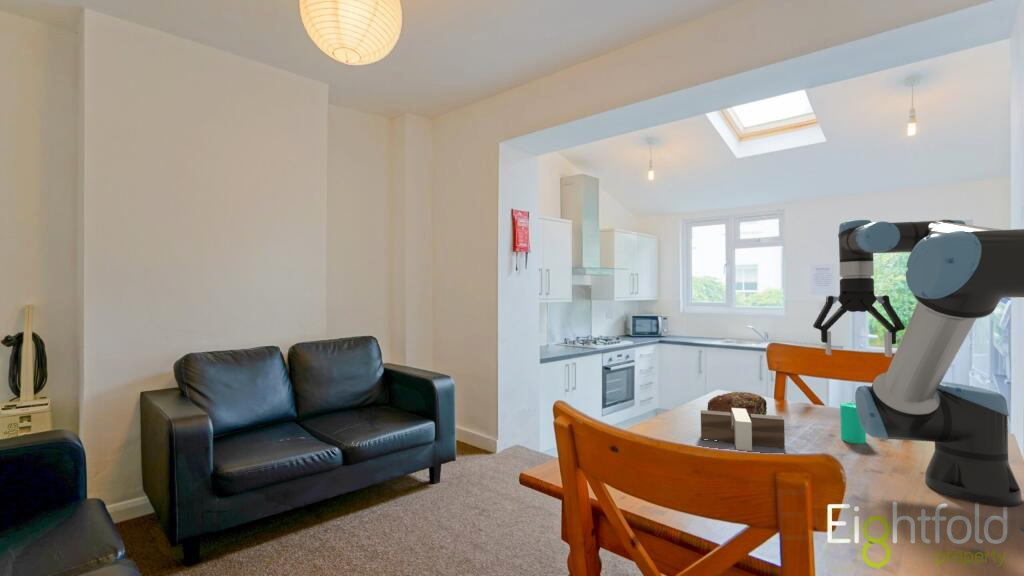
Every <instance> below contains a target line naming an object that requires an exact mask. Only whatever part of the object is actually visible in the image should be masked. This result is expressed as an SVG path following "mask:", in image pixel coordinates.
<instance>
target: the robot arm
mask: <svg viewBox="0 0 1024 576" xmlns="http://www.w3.org/2000/svg"><path fill="white" fill-rule="evenodd" d="M838 227H839V229H838V235H837V237H838V251H839V253H838V256H839V259H838V260H839V277H840V279H839V295H838V296H836V295H835V296H834V295H827V296H826V299H825V303H824V305H823V308H822V309H821V311H820V312H819V314H818V316H817V317H816V319H815V322H814V323H813V324H812V327H813V328H814V329H817V330H818V331H819V330H820V340H821V342H822V343H823V344H824V343H825V355H827V356H832V331H830V330H829V329H830V328H831V327H833V326H834V324H836V322H837V321H838V320H839V319H840V318H842V316H843V315H844V314H845V313H847V312H849V313H850V312H851V313H856V312H860V313H866V312H867V313H869V315H870V314H871V316H872V317H873V318H874V319H876V320H877V322H879V324H880V325H882V327H884V328H885V329H886V330H887V331H884V332H883V333H884V336H883V337H884V338H883V339H884V357H887V358H892V360H891V362H890V364H889V367H888V369H887V371H886V372H882V373H881V374H879V375H877V376H876V377H875V378H874V380H873V382H872V385H870V386H867V385H861V386H858V387H857V388H856V390H855V396H854V401H855V402H854V403H856V410H857V414H858V418H859V421H860V423H861V426H862V428H863V429H864V431H865V432H866V435H868V436H870V437H872V438H876V439H885V440H897V441H899V440H900V441H913V442H914V441H915V442H931V443H934V452H933V454H932V456H931V458H930V461H929V463H928V466H927V468H926V470H925V473H924V474H925V475H924V477H925V478H924V480H925V484H926V486H928V487H929V488H931V489H932V490H934V491H936V492H939V493H940V494H943V495H946V496H949V497H952V498H954V499H958V500H961V501H962V500H963V501H966V502H971V503H976V504H981V505H986V506H987V505H988V506H995V507H996V506H997V507H1013V506H1014V507H1015V506H1018V505H1021V503H1022V490H1021V488H1020V485H1019V483H1018V482H1017V481H1018V480H1017V479H1016V477H1015V474H1014V472H1013V470H1012V468H1011V465H1010V463H1009V430H1008V429H1009V428H1008V427H1009V425H1008V424H1009V423H1008V422H1009V416H1010V414H1009V410H1008V404H1007V399H1006V397H1005V396H1004V395H1003V394H1001V393H1000V392H996V391H994V390H991V389H986V388H982V387H977V386H972V385H969V384H968V385H967V384H961V383H955V382H954V383H953V382H948V381H943V379H944V377H945V375H947V372H948V370H949V369H950V367H951V366H952V363H953V362H954V359H955V358H956V356H957V354H958V353H959V351H960V349H961V348H962V346H963V344H964V342H965V340H966V338H967V336H968V334H969V332H970V331H971V329H972V328H973V326H974V323H975V322H976V320H977V319H981V318H982V319H983V318H986V317H988V316H990V315H991V314H993V313H994V311H995V310H996V308H997V306H998V304H999V303H1000V302H1001V300H1003V299H1005V298H1024V228H1022V229H1017V228H1015V229H1000V228H991V227H988V226H987V227H985V226H977V225H971V224H966V223H965V221H963V220H961V219H941V220H940V219H939V220H924V221H923V220H922V221H902V222H901V221H898V222H895V221H894V222H889V221H881V220H880V221H873V222H872V221H871V220H870V219H853V220H847V221H843V222H841V223H839V226H838ZM892 253H893V254H894V253H909V256H908V258H907V262H906V266H905V267H906V268H907V271H905V280H906V284H907V287H908V289H909V291H910V292H911V293H912V296H913V297H914V299H915V300H916V302H917V304H916V305H915V308H914V310H913V313H912V315H911V317H910V320H909V321H908V324H907V326H906V327H905V325H904V323H903V322H902V319H901V318H900V317H899V315H898V314H897V312H896V310H895V309H894V308H893V305H892V304H891V302H890V296H889V295H887V294H881V295H877V296H876V295H875V284H874V283H875V279H874V278H872V277H873V276H875V272H874V271H875V269H874V254H892ZM841 277H842V278H841ZM876 301H877V302H878V304H879V305H880V304H881V306H882V307H883V309H884V311H885V313H886V314H887V316H888V318H889V319H890V321H891V322H892V323H891V322H890V321H889V320H888V319H886V317H885V316H883V315H882V314H881V313H880V312H879V311H878V309H877V308H876V307H875V306H874V304H875V303H876ZM836 302H839V304H840V305H841V306H840V307H839V308H837V310H836V311H835V312H834V313H833V314H832V316H830V317H829V318H828V319H827V320H826V321H825V319H826V318H827V316H828V315H829V312H830V311H831V309H832V308H833V305H834V304H836ZM824 321H825V322H824ZM904 330H905V331H904ZM899 331H904V333H903V336H902V338H901V340H900V342H899V343H898V346H897V349H896V351H895V354H894V356H893V345H896V344H897V332H899Z"/></svg>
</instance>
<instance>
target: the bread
mask: <svg viewBox="0 0 1024 576" xmlns="http://www.w3.org/2000/svg"><path fill="white" fill-rule="evenodd" d="M731 408H742V409H746V411H747V413H748V415H749V418H750V414H760V415H768V414H767V409H768V407H767V401H766V399H765V398H764V397H762V395H758V394H756V393H752V392H744V391H743V392H742V391H739V392H738V391H732V392H728V393H723V394H719V395H716V396H714V397H712V398H710V399H709V401H708V402H707V410H706V411H719V412H730V413H731V426H732V410H731Z"/></svg>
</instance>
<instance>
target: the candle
mask: <svg viewBox="0 0 1024 576" xmlns="http://www.w3.org/2000/svg"><path fill="white" fill-rule="evenodd" d="M853 401H854V399H852V400H851V402H844V403H840V405H839V408H840V409H839V410H840V411H839V412H840V416H839V417H840V439H841V440H842V441H844V442H847V443H853V444H860V445H861V444H865V443H866V442H867V433H866V432H865V431H864V429H863V428H862V426H861V423H860V421H859V418H858V414H857V410H856V403H855V402H853Z"/></svg>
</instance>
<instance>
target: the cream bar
mask: <svg viewBox="0 0 1024 576" xmlns="http://www.w3.org/2000/svg"><path fill="white" fill-rule="evenodd" d="M731 410H732V426H733V427H734V434H735V443H734V446H736V447H735V449H736V450H737V451H748V452H753V445H752V422H751V420H750V418H749V415H748V413H747V411H746V409H742V408H731Z"/></svg>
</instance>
